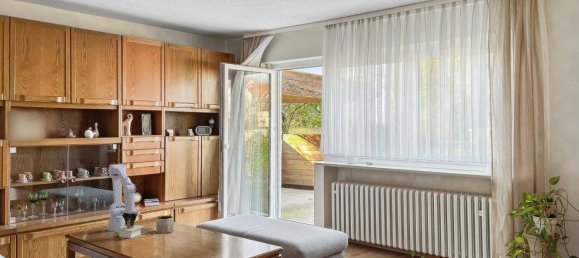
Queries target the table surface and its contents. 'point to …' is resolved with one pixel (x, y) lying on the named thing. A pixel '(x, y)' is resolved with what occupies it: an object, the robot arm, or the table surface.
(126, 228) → the lid
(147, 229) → the mat
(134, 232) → the beige bevelled block
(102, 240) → the table surface
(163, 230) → the planter
